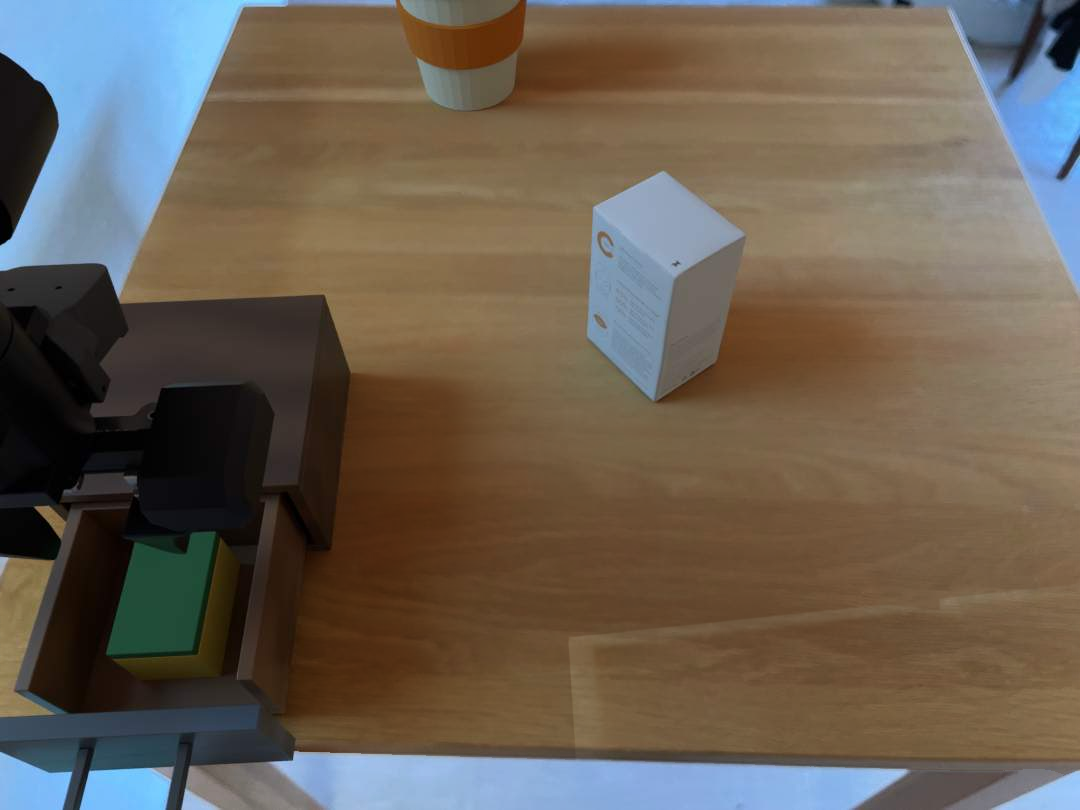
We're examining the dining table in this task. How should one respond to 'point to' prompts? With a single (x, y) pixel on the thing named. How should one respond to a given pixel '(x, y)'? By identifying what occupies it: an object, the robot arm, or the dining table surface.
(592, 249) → the small box
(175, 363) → the cabinet
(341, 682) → the dining table surface
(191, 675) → the sponge
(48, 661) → the drawer
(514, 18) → the reusable coffee cup
